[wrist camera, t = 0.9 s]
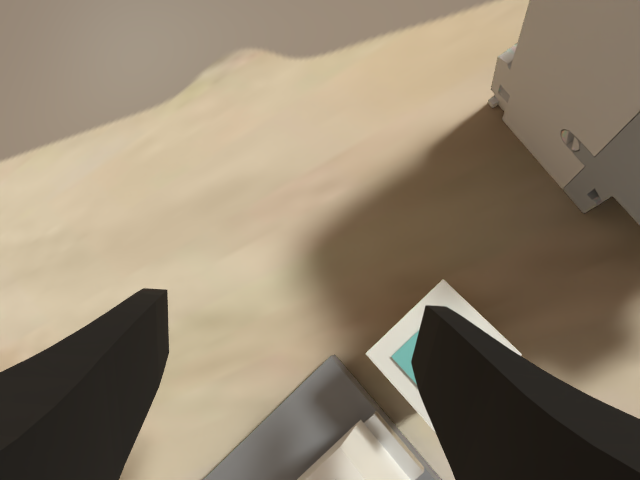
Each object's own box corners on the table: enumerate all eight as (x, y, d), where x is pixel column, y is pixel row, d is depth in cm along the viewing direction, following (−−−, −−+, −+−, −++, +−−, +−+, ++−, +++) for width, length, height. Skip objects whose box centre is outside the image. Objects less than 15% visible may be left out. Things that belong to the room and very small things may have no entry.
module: (499, 341, 21) (523, 354, 15) (437, 398, 22) (435, 434, 16) (443, 287, 23) (443, 278, 16) (386, 341, 23) (364, 353, 17)
